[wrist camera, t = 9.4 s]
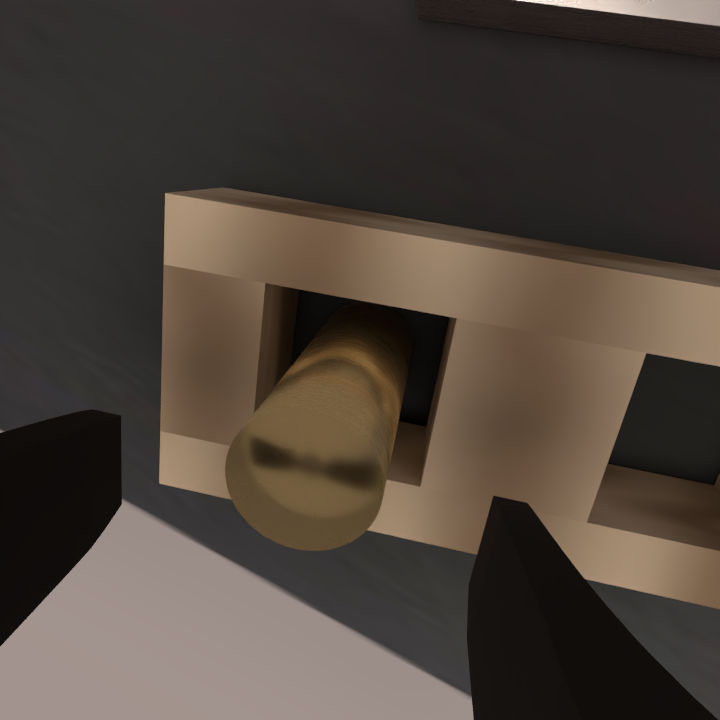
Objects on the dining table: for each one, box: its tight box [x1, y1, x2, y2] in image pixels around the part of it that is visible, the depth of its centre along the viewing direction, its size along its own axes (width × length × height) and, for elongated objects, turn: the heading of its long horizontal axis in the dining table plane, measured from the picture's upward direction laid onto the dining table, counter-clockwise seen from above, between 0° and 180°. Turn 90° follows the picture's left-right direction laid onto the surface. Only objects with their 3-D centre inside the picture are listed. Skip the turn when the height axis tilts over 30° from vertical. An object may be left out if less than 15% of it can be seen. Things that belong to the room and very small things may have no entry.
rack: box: [159, 188, 720, 609], centre depth 17 cm, size 21×9×4 cm, turn 82°
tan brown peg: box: [225, 300, 413, 551], centre depth 15 cm, size 3×3×9 cm
